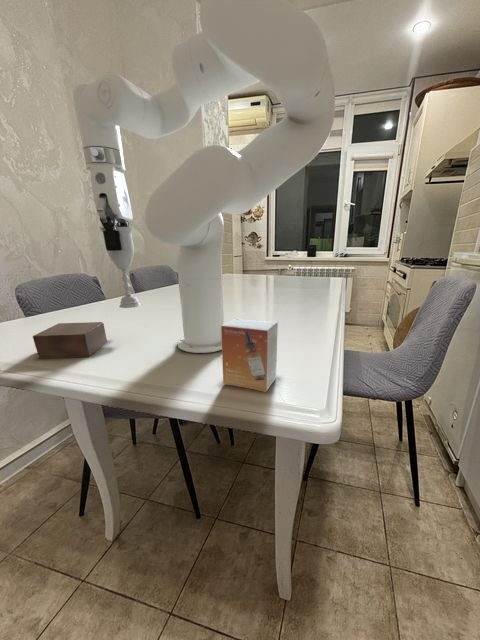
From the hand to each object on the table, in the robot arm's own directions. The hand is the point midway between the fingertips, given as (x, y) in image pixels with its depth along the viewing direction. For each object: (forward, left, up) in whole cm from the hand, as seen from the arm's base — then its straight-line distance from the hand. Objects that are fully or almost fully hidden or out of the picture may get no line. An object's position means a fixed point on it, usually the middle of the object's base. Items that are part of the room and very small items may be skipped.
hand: (120, 249), depth 68 cm
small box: (-28, +30, -21) cm, 46 cm away
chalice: (0, 0, -13) cm, 13 cm away
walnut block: (+10, +9, -21) cm, 25 cm away
